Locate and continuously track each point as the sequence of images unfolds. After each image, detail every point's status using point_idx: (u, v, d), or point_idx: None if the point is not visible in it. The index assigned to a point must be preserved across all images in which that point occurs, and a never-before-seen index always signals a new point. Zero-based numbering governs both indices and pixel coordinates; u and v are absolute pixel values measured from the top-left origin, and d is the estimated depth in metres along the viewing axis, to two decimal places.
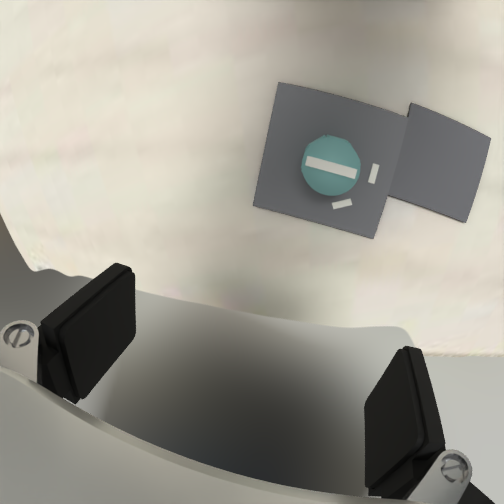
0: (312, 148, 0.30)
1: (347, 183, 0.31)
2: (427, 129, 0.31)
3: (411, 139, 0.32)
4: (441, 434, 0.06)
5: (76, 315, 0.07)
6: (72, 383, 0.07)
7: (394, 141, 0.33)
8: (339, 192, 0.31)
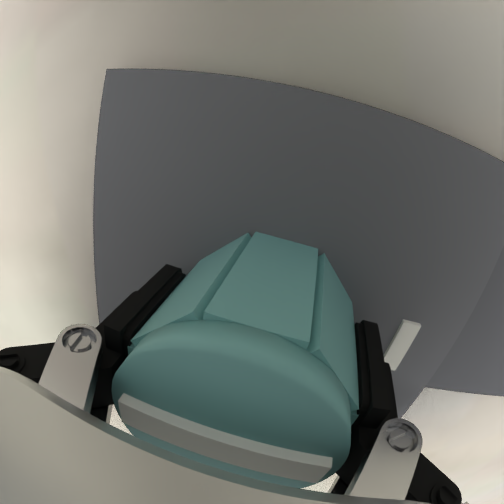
0: (132, 376, 0.06)
1: (289, 479, 0.07)
2: None
3: None
4: (387, 401, 0.06)
5: (139, 317, 0.08)
6: None
7: (478, 253, 0.09)
8: None
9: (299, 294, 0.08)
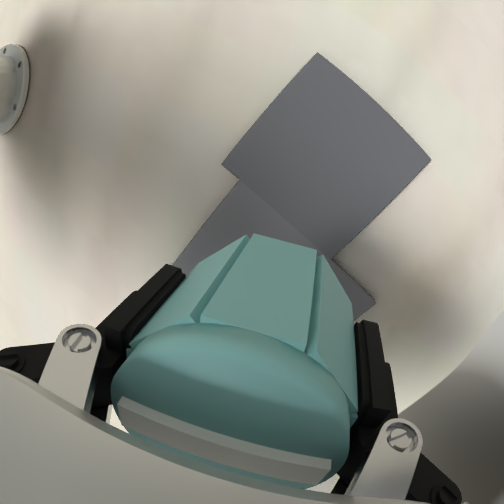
0: (131, 379, 0.06)
1: (289, 481, 0.07)
2: (266, 158, 0.24)
3: (270, 190, 0.25)
4: (388, 401, 0.06)
5: (139, 317, 0.08)
6: None
7: (263, 216, 0.26)
8: None
9: (297, 296, 0.08)
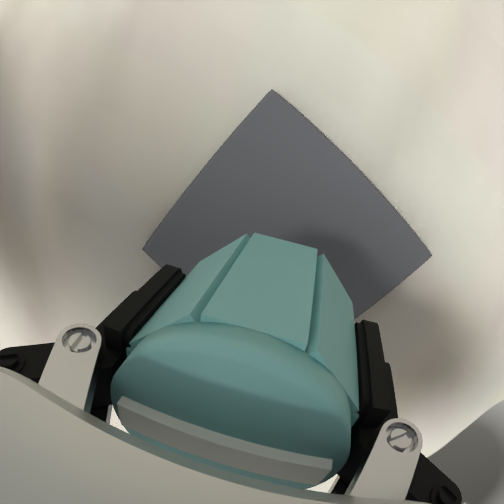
0: (131, 379, 0.06)
1: (290, 481, 0.07)
2: (196, 248, 0.18)
3: None
4: (388, 401, 0.06)
5: (139, 317, 0.08)
6: None
7: None
8: None
9: (297, 295, 0.08)
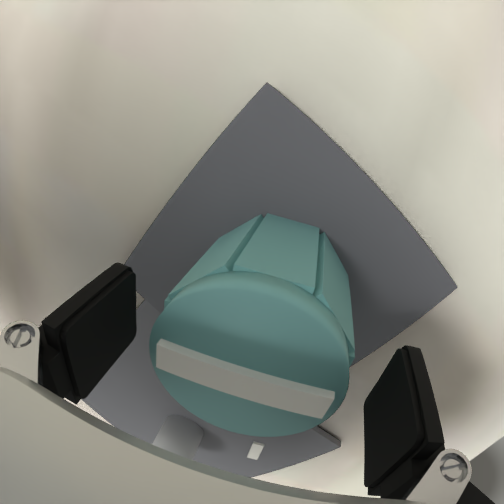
0: (172, 319, 0.08)
1: (298, 419, 0.09)
2: (178, 275, 0.15)
3: None
4: (440, 434, 0.06)
5: (77, 315, 0.07)
6: (73, 383, 0.07)
7: None
8: (272, 433, 0.09)
9: (305, 257, 0.10)
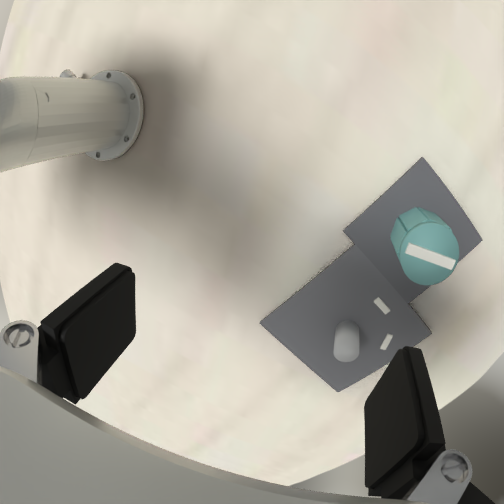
0: (415, 234, 0.25)
1: (443, 273, 0.26)
2: (376, 232, 0.32)
3: (376, 254, 0.33)
4: (441, 434, 0.06)
5: (76, 315, 0.07)
6: (72, 383, 0.07)
7: (368, 272, 0.34)
8: (433, 282, 0.26)
9: (441, 220, 0.27)
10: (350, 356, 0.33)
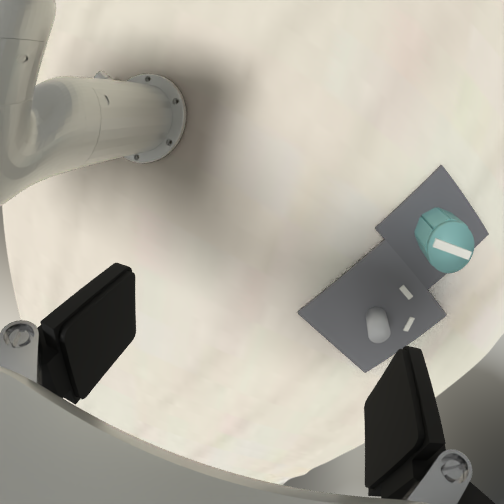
0: (440, 231, 0.29)
1: (461, 263, 0.30)
2: (403, 228, 0.36)
3: (402, 248, 0.37)
4: (441, 434, 0.06)
5: (76, 315, 0.07)
6: (72, 383, 0.07)
7: (395, 263, 0.38)
8: (454, 270, 0.31)
9: (458, 219, 0.31)
10: (382, 337, 0.38)
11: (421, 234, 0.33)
